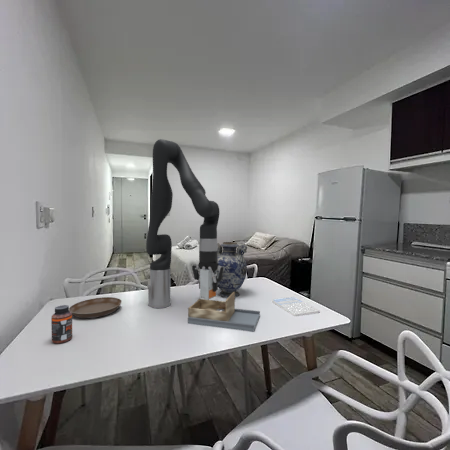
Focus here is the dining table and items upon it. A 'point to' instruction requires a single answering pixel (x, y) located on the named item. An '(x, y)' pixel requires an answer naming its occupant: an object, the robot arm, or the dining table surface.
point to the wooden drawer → (212, 309)
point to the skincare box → (206, 285)
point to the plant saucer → (95, 307)
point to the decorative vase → (231, 267)
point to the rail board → (232, 320)
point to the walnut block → (222, 306)
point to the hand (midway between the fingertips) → (208, 290)
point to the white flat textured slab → (295, 306)
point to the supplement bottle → (61, 324)
